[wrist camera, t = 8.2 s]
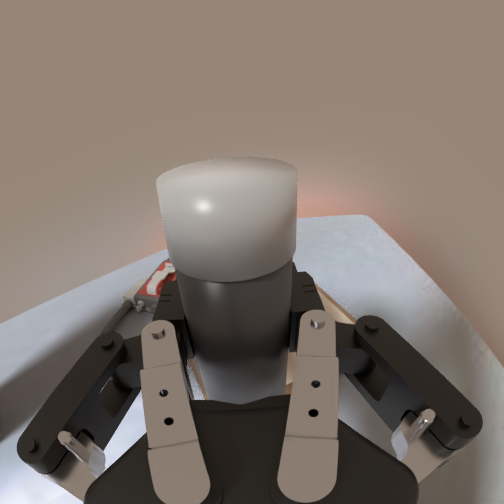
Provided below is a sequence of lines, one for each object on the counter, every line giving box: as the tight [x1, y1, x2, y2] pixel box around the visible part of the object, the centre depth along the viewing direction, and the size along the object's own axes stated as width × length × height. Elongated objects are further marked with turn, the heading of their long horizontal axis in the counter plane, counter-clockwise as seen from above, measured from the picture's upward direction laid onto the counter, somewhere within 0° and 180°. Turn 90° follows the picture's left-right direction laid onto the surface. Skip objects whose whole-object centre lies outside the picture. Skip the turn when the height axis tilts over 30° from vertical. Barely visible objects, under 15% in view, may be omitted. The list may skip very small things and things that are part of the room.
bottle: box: [156, 157, 297, 404], centre depth 12 cm, size 4×4×14 cm
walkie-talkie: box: [101, 258, 176, 335], centre depth 44 cm, size 9×4×20 cm
